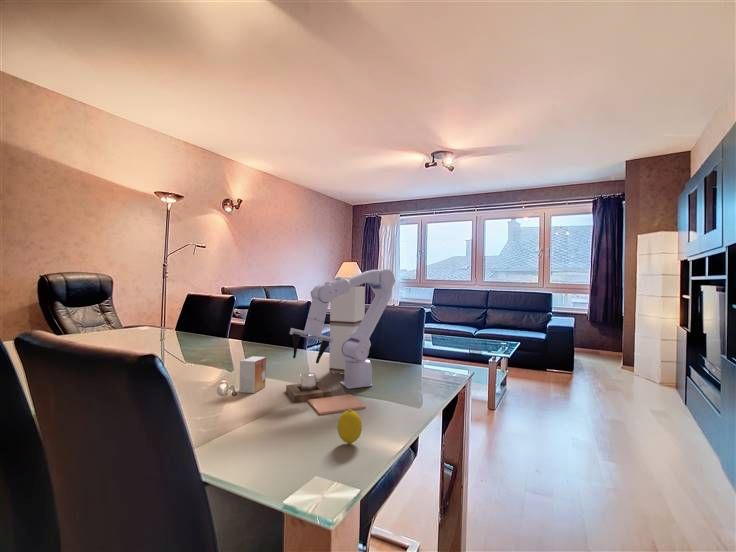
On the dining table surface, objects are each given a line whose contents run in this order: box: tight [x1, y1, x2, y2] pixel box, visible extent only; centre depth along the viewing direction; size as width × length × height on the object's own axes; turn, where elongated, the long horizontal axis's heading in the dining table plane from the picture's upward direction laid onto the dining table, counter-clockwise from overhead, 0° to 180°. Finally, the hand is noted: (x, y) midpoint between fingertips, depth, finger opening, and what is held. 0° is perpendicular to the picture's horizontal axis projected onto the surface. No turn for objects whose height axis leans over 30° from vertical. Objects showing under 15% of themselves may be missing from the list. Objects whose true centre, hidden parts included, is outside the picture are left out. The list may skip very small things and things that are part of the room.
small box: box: [238, 355, 267, 394], centre depth 124 cm, size 8×6×10 cm
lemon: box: [337, 409, 363, 445], centre depth 83 cm, size 6×6×8 cm
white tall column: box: [328, 286, 366, 375], centre depth 151 cm, size 11×11×35 cm
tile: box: [307, 394, 366, 416], centre depth 109 cm, size 14×12×1 cm
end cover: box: [300, 372, 317, 392], centre depth 119 cm, size 5×5×6 cm
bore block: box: [285, 381, 333, 403], centre depth 119 cm, size 12×12×2 cm
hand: (305, 360), depth 119 cm, fingers open, 7 cm apart
